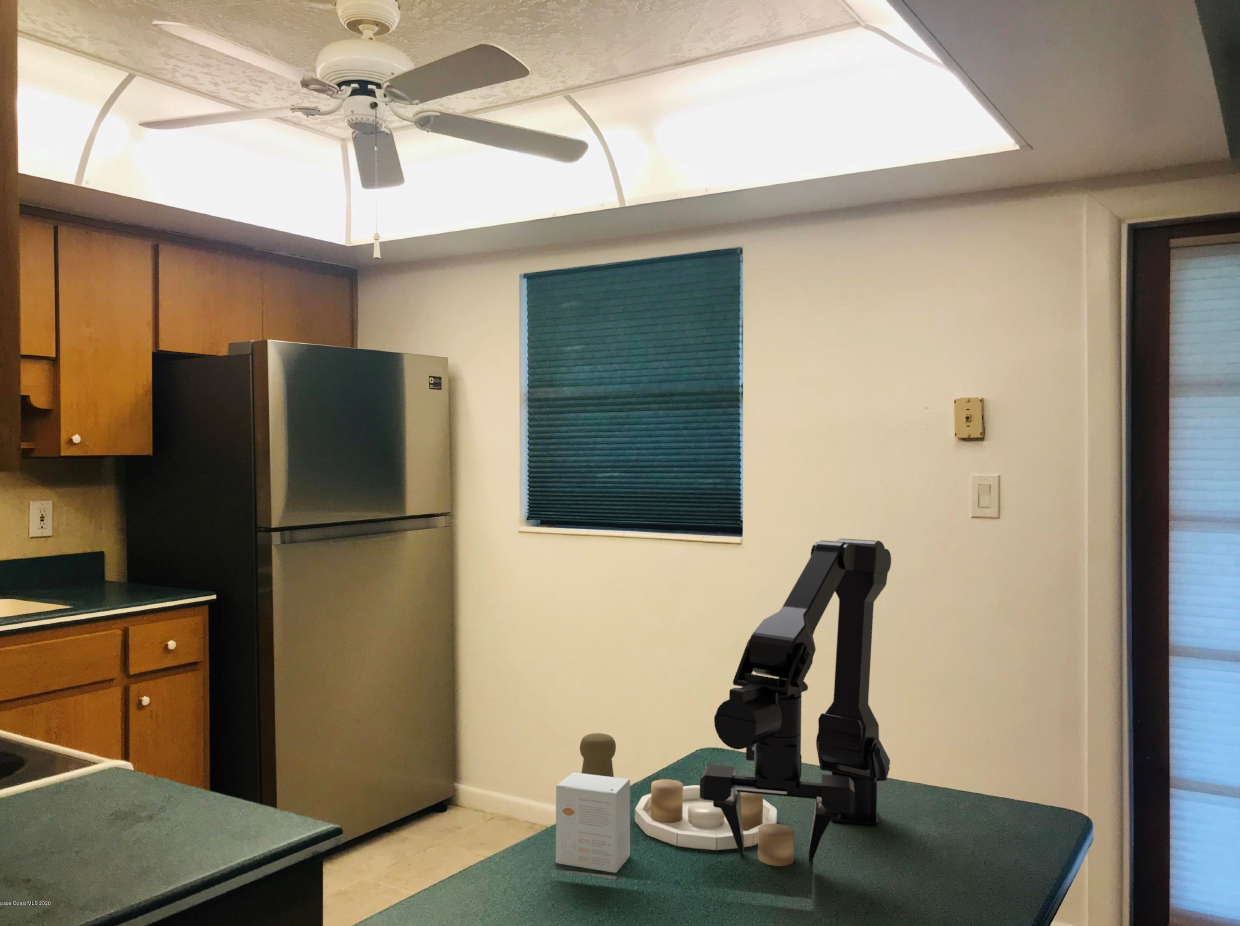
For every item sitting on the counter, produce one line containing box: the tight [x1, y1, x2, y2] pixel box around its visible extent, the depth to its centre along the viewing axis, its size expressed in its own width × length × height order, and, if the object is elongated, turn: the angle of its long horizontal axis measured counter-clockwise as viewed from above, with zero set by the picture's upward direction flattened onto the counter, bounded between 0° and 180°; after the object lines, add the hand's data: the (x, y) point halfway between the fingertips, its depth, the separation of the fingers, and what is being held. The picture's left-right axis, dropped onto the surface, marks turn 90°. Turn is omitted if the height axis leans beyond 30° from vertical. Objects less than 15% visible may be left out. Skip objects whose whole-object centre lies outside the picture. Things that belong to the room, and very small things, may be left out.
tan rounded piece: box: [740, 792, 764, 831], centre depth 125 cm, size 4×4×4 cm
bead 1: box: [650, 778, 684, 823], centre depth 127 cm, size 4×4×4 cm
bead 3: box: [757, 823, 795, 867], centre depth 114 cm, size 4×4×4 cm
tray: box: [634, 784, 778, 851], centre depth 126 cm, size 19×19×3 cm
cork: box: [579, 732, 617, 777], centre depth 132 cm, size 6×6×11 cm
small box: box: [555, 772, 631, 881], centre depth 113 cm, size 8×6×10 cm
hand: (775, 856), depth 114 cm, fingers open, 8 cm apart
